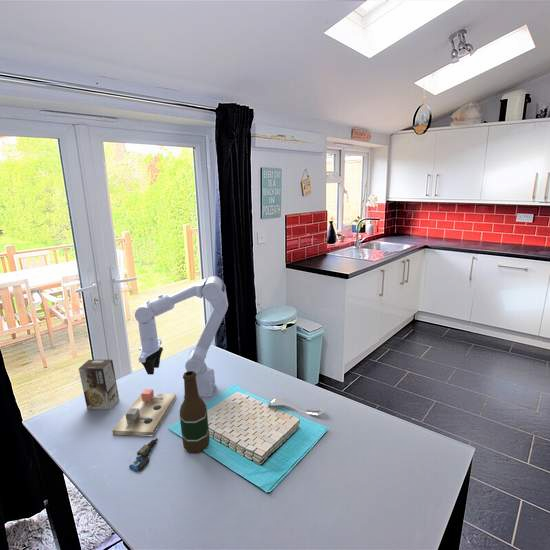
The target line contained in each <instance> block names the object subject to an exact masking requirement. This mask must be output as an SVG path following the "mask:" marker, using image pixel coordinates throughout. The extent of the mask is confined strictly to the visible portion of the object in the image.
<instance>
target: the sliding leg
mask: <svg viewBox="0 0 550 550" xmlns="http://www.w3.org/2000/svg"><path fill="white" fill-rule="evenodd" d="M140 394H141V396H142V401H146V402H151V400H152V399H158V400H163V398H162V397H154V394H155V393H154V389H153V388H144V390H142V392H141V393H140Z"/></svg>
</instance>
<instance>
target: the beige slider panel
mask: <svg viewBox="0 0 550 550" xmlns="http://www.w3.org/2000/svg"><path fill="white" fill-rule="evenodd" d="M154 397H162V398H163V400H158V399H152V400H151V402H146V401H142V396H141V393H140V395H139V396H138V397H137V398H136V399H135V401H134V402H133V403H132V405H131V406H130V407H129V408H128V410H126V412H125V414H124V415H123V416H122V417H121V418H120V420H119V421H118V422H117V423H116V425H115V426H114V428H112V435H117V436H120V435H121V436H137V435H153V434H154V435H155V433H156V432H157V430H158V429H157V428H159V427H160V425H161V424H160V423H162V422H163V420H164V419H163V418H165V417H166V415H167V414H168V412H169V411H170V409H171V407H172V406H173V404H174V402H175V401H176V399H177V395H176V393H175V394H174V393H154ZM171 405H172V406H171ZM169 408H170V409H169ZM168 410H169V411H168ZM166 413H167V414H166ZM161 421H162V422H161ZM158 426H159V427H158ZM156 429H157V430H156ZM155 431H156V432H155ZM154 432H155V433H154ZM154 435H153V436H154Z"/></svg>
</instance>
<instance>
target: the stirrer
mask: <svg viewBox="0 0 550 550" xmlns="http://www.w3.org/2000/svg"><path fill="white" fill-rule="evenodd" d="M268 404H269V405H270V407H272V406H286V407H288V408H290V409H294V410H295V411H297V412H298V413H299V412H301V413H303V414H305V415H307V416H320V415H322V414H323V413H325V409H324V408H314V409H302V408H298V407H295V406H293V405H291V404H290V403H288V402H286V401H285V400H284V399H282V398H281V397H278V396H274V397H273V398H271V400H270V401H269V402H268ZM318 411H319V412H318Z"/></svg>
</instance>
